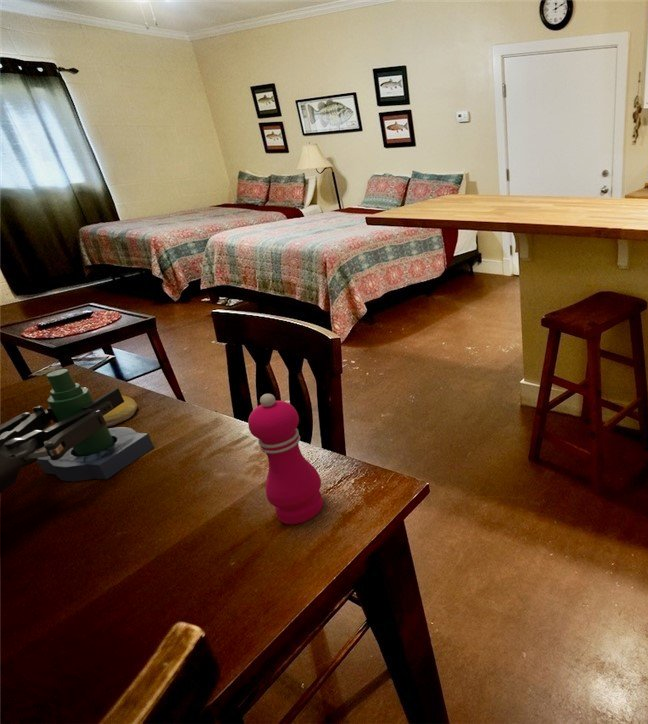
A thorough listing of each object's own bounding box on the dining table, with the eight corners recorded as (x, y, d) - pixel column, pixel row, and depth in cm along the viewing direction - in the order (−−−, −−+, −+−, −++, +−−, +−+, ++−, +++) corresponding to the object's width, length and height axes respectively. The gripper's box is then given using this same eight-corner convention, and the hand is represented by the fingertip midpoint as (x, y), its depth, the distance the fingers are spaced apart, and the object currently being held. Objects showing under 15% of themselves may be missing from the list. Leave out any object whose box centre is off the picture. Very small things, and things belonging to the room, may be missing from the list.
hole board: (36, 478, 78) (27, 463, 77) (103, 438, 88) (96, 424, 87) (99, 484, 77) (91, 469, 75) (160, 443, 87) (154, 429, 85)
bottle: (77, 467, 79) (31, 383, 72) (82, 452, 82) (39, 371, 75) (116, 456, 81) (75, 374, 74) (118, 442, 85) (80, 363, 78)
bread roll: (76, 434, 89) (67, 416, 88) (95, 411, 97) (87, 394, 95) (129, 425, 92) (121, 407, 90) (144, 403, 100) (137, 386, 98)
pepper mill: (310, 487, 76) (278, 376, 67) (336, 505, 72) (306, 391, 63) (264, 513, 70) (224, 398, 62) (290, 535, 67) (251, 415, 58)
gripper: (-95, 507, 63) (59, 415, 84) (43, 503, 64) (162, 412, 85) (-130, 462, 60) (39, 377, 81) (15, 458, 60) (147, 375, 81)
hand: (102, 395), depth 83 cm, fingers closed on bottle, 5 cm apart
